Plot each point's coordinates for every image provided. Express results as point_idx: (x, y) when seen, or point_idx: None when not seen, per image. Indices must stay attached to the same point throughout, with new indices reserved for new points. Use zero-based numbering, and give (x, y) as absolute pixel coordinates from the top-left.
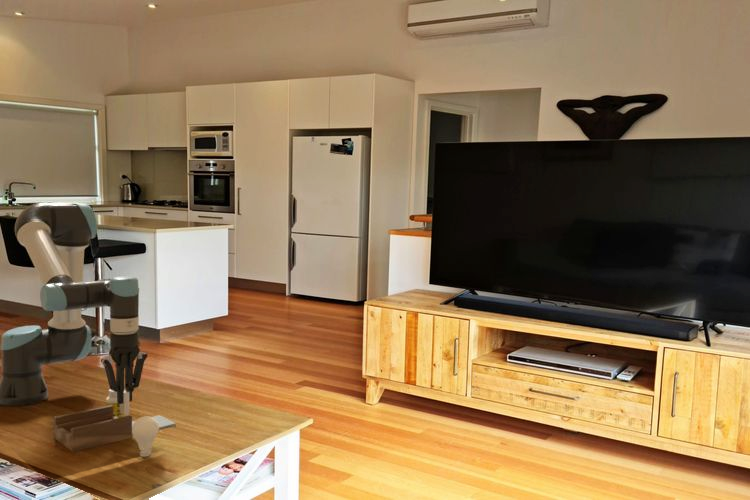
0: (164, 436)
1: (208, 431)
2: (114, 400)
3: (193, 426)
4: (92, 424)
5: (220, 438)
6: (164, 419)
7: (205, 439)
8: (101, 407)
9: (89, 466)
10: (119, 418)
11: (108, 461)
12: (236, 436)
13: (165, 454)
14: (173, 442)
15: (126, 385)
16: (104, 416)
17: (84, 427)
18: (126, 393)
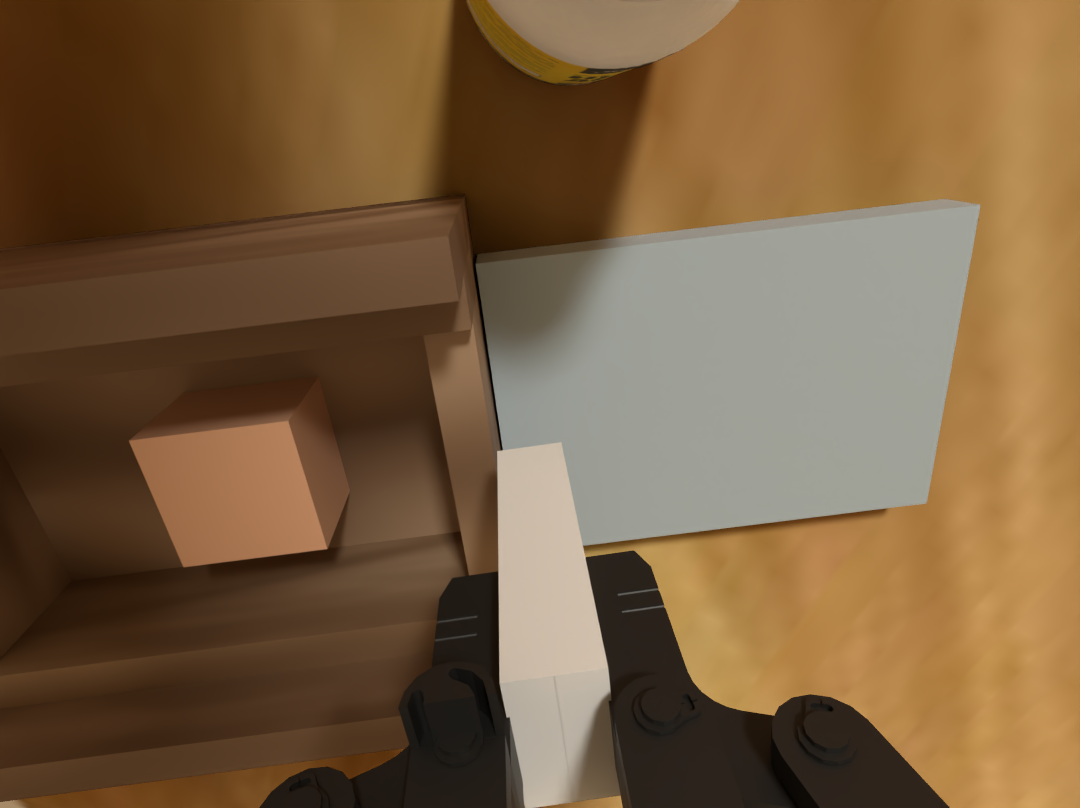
0: (743, 583)
1: (1009, 631)
2: (552, 38)
3: (1015, 506)
4: (119, 771)
5: (969, 745)
6: (924, 365)
7: (899, 726)
8: (281, 274)
9: (183, 783)
10: (402, 733)
11: (297, 768)
12: (1050, 756)
13: (606, 804)
14: (731, 690)
15: (645, 786)
16: (334, 344)
17: (42, 791)
18: (564, 784)
